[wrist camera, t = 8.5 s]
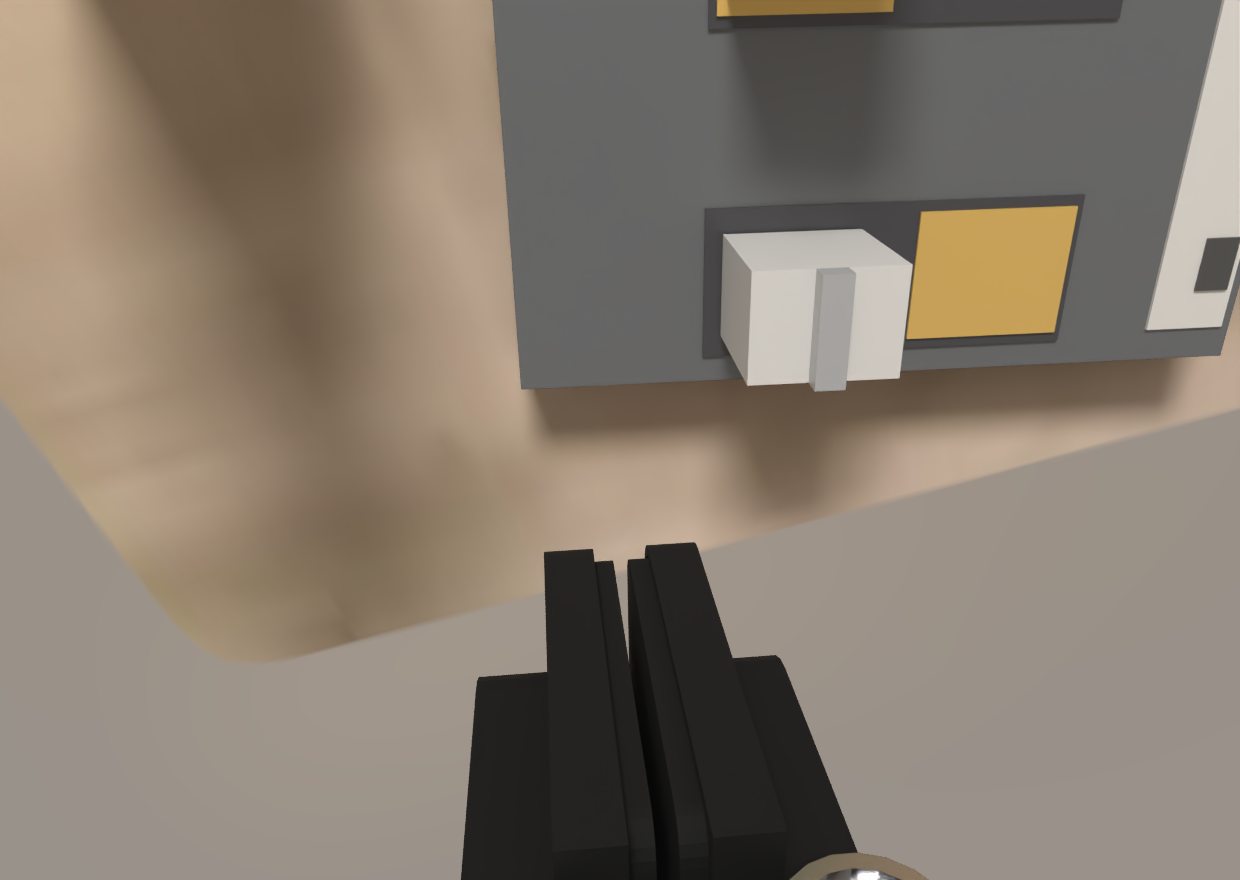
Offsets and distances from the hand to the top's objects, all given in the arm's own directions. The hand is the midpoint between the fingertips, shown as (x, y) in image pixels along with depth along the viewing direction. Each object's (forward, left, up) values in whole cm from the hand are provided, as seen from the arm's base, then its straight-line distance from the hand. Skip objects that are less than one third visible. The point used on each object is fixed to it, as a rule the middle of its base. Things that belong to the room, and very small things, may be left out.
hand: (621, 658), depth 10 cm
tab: (-6, +1, -17) cm, 18 cm away
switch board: (-9, -4, -20) cm, 22 cm away
